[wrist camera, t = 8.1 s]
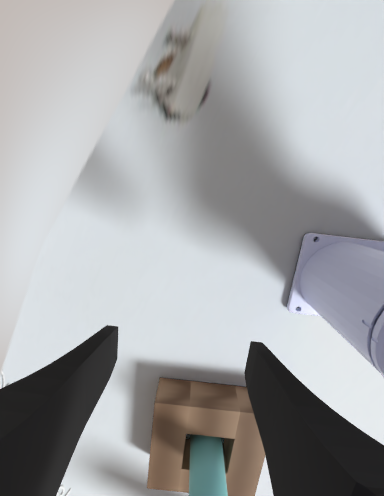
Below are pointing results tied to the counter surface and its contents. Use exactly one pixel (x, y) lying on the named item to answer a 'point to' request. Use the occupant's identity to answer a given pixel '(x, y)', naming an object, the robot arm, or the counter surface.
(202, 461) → the peg
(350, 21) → the counter surface
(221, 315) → the counter surface
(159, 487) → the socket block
